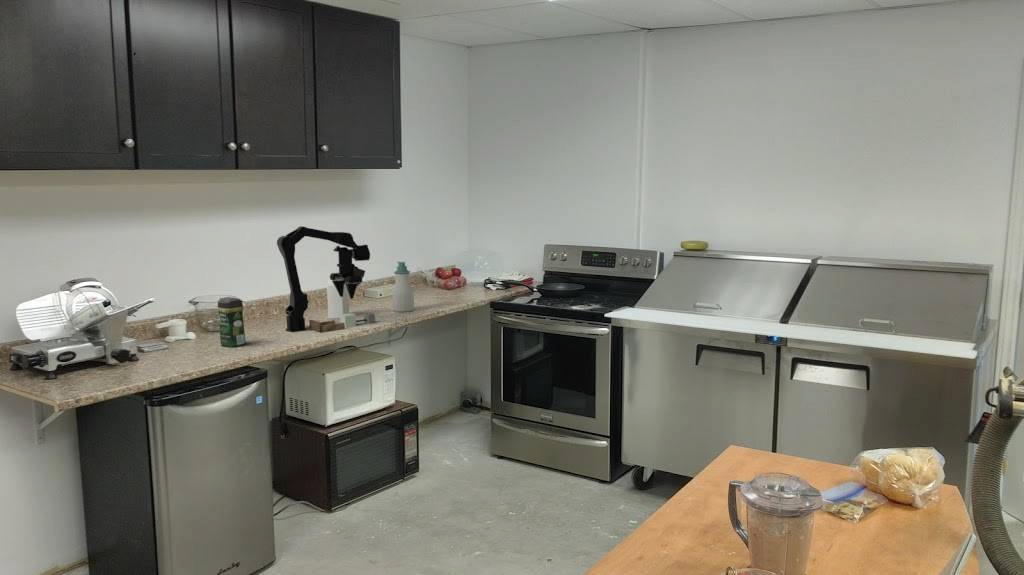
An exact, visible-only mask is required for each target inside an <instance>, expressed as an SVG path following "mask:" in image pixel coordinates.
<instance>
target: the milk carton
mask: <svg viewBox="0 0 1024 575" xmlns="http://www.w3.org/2000/svg"><path fill="white" fill-rule="evenodd" d="M332 281H333V280H330V275H329V278H328V281H327V283H326V297H327V298H326V299H327V313H328V314H327V315H328V319H340V317H339V315H341V314H348V313H350V305H349V304H350V301H349V293H348V290H347V287H346V282H345V283H344V290H343V297H340V295H339V293H338V291H337V289H336V287H335V286H334V284H333V282H332Z"/></svg>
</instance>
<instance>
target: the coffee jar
mask: <svg viewBox="0 0 1024 575" xmlns="http://www.w3.org/2000/svg"><path fill="white" fill-rule="evenodd" d="M217 311H218V312H217V313H218V318H219V321H218V322H219V343H220V345H221V346H224V347H228V348H229V347H230V348H232V347H236V346H238V347H242V346H243V345H245V344H246V343H247V342H246V334H245V333H246V332H245V326H244V324H245V323H244V315H243V314H244V304H243V300H242V299H240V298H235V297H230V296H227V297H220V298H219V299H218V300H217Z"/></svg>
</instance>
